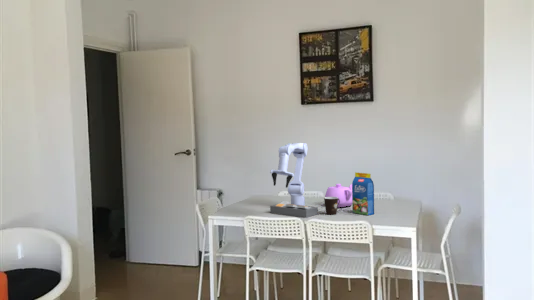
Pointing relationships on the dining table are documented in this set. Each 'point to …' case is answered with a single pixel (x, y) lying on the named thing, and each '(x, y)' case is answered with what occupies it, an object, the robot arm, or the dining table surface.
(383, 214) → the dining table surface
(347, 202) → the teapot
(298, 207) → the rocker outlet
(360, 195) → the blue food package
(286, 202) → the outlet rocker
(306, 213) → the power strip
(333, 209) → the coffee mug
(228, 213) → the dining table surface
